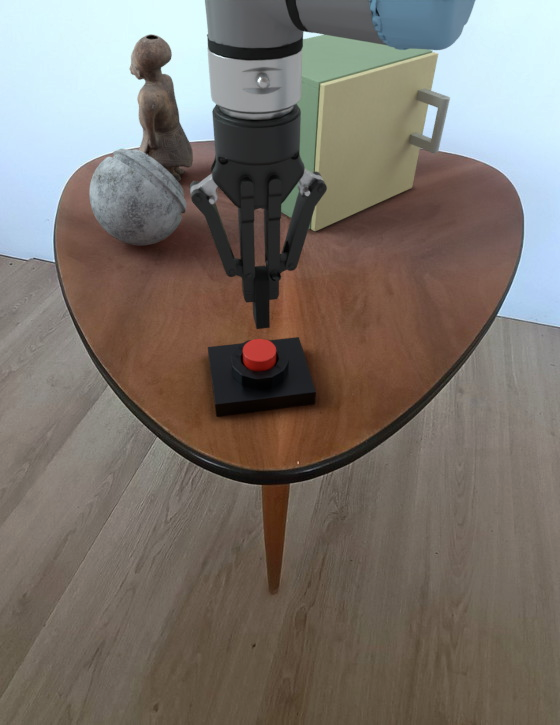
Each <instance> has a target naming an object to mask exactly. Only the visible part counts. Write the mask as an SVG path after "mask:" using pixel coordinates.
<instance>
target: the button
mask: <svg viewBox="0 0 560 725" xmlns="http://www.w3.org/2000/svg"><path fill="white" fill-rule="evenodd" d="M250 340H251V341H249V342H247V343H246V344H245V346H244V347H243V362H244V365H245V366H246V367H247V368H248V369H250V370H253V371H257V372H259V371H267V370H269V369H271V368H272V367H273V366H274V365H275V363H276V347H275V345H274V344H273V343H272V342H270V341H268V340H269V339H265V338H255V339H250Z"/></svg>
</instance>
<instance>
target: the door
mask: <svg viewBox="0 0 560 725" xmlns="http://www.w3.org/2000/svg"><path fill="white" fill-rule="evenodd" d="M438 57H439V53H438V52H435V51H432V53H429V54H425V55H422V56H418V57H415V58H411V59H408V60H404V61H400V62H397V63H393V64H390V65H386V66H382V67H379V68H375V69H372V70H368V71H365V72H361V73H357V74H354V75H350V76H347V77H343V78H339V79H336V80H332V81H329V82H325V83H322V84H320V98H319V114H318V129H317V145H316V161H315V172H319V173H320V175H321V176H322V178H323V180H324V182H325V184H326V186H327V190H326V192H325V194H324V195H323V196H322V198H321V199H320V200H319V202H318V203H317V205H316V206H315V209H314V212H313V216H312V223H311V229H310V230H311V231H313V232H317V231H319V230H321V229H325V228H326V227H328V226H330V225H333V224H334V223H338V222H340V221H342V220H344V219H346V218H348V217H351V216H352V215H354V214H357V213H359V212H361V211H364V210H366V209H368V208H370V207H372V206H375V205H377V204H379V203H382V202H383V201H386V200H388V199H390V198H393V197H395V196H397V195H399V194H401V193H404V192H406V191H408V190H410V189H413V185H414V180H415V175H416V170H417V164H418V160H419V154H420V149H421V150H424V151H426V152H428V153H431V154H437V153H439V151H440V145H441V142H442V136H443V132H444V127H445V123H446V117H447V115H448V114H447V113H448V108H449V105H450V100H451V97H450V96H448V95H445V94H442V93H439V92H437V91H435V90H432V88H433V85H434V84H433V83H434V78H435V73H436V68H437V63H438ZM429 106H432V107H435V108H437V110H436V115H435V120H434V124H433V129H432V134H431V137H428V136H427V135H424V129H425V125H426V119H427V114H428V108H429Z"/></svg>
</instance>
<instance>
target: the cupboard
mask: <svg viewBox="0 0 560 725" xmlns="http://www.w3.org/2000/svg"><path fill="white" fill-rule="evenodd" d="M429 53H433V50H428V49H411V48H410V49H406V50H399V49H395V48H394V47H390V46H388V45H382V44H376V43H371V42H365V41H359V40H353V39H347V38H341V37H336V36H330V35H324V34H319V35H315V36H312V37H311V36H310V37H307V38H303V48H302V87H301V99H300V101H299V102H298V103H297V105H298V106H299V108H300V110H301V125H300V157H301V160H302V162H303V164H304V167H305V169H307V170H308V171H310V172H312V173H313V172H315V161H316V145H317V129H318V114H319V98H320V84H322V83H325V82H329V81H332V80H336V79H339V78H343V77H347V76H350V75H354V74H357V73H361V72H365V71H368V70H372V69H375V68H379V67H382V66H386V65H390V64H393V63H397V62H400V61H404V60H408V59H411V58H415V57H418V56H422V55H425V54H429ZM298 184H299V182H298V183H297V185H296V186H295V187H294V189H293V190H292V191H291V193H290V194H289V196H288V197H287V198H286V200H285V201H284V202H283V203H282V204H281V214H284V215H285V216H287V217H289V218H290V219H291V217H292V214H293V210H294V207H295V203H296V199H297V196H298V193H299V189H298ZM311 223H312V219H311V222H310V225H309V229H308V230H311Z"/></svg>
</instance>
